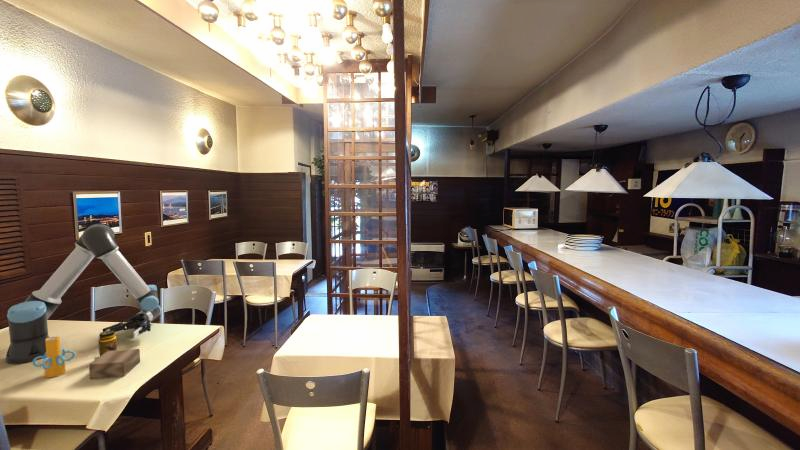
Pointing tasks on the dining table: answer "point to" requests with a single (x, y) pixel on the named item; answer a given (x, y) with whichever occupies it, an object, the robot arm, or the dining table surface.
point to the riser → (114, 363)
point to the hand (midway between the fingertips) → (117, 336)
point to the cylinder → (53, 358)
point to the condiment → (107, 342)
